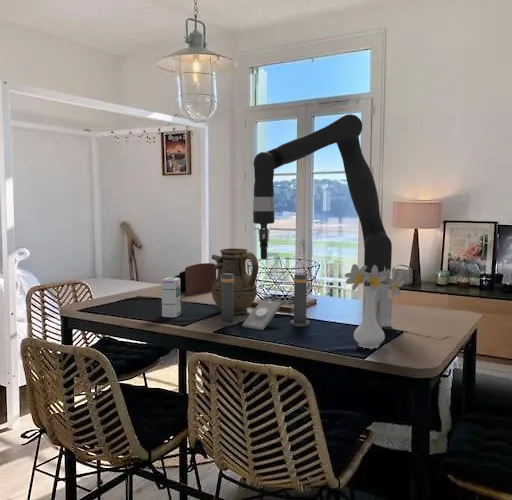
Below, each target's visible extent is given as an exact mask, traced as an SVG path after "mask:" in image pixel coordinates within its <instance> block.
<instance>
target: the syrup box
mask: <svg viewBox="0 0 512 500" xmlns="http://www.w3.org/2000/svg"><path fill="white" fill-rule="evenodd" d="M160 280H161V281H160V283H161V316H162V317H163V318H175V317H176V318H177V317H179V316H180V314H181V315H182V295H181V286H180V278H176V277H175V276H173V277H172V276H170V277H166V278H163V279H160Z"/></svg>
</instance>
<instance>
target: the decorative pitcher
mask: <svg viewBox="0 0 512 500" xmlns="http://www.w3.org/2000/svg"><path fill="white" fill-rule="evenodd" d="M219 251H220V254H221V255H218V254H212V255H211V259H212V260H213V261H215V262H216V264H215V266H214V268H215V269H216V270H217V275H216V280H215V282H214V283H213V286H212V291H211V295H212V300H214V304H216V305H217V307H218V308H219V309H221V274H225V273H231V274H234V315H243V314H246V313H247V312H248V308H249V307H251V305H253V303H254V301H255V300H256V297H257V292H258V291H257V289H258V288H257V285H256V280H257V278H258V273H259V261H258V258H257V257H256V255H255V254H254V253H253V252H251V251H248V249H247V248H234V247H233V248H231V247H230V248H222V249H220V250H219ZM247 260H249V261H250V262H251V266H252V267H251V268H252V269H251V274H248V272H247V269H246V268H247V267H246V261H247Z"/></svg>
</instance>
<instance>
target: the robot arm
mask: <svg viewBox="0 0 512 500" xmlns="http://www.w3.org/2000/svg"><path fill="white" fill-rule="evenodd" d="M362 130H363V122H362V120H361V118H359V117H358V115H355V114H351V113H349V114H347V113H346V114H344V115H343V114H342V116H340V117H339V118H337V119H336V120H334V121H333V122H331V123H330V124H328V125H326V126H324V127H322V128H319V129H318V130H315V131H313V132H311V133H308V134H305V135H303V136H300V137H297V138H294V139H292V140H290V141H287V142H285V143H282V144H281V145H278V146H277V147H275V148H273V149H270V150H267V151H262V152H261V151H260V152H258V154H256V155H255V157H254V159H253V169H254V170H253V171H254V173H253V174H254V182H253V183H254V184H253V200H252V201H253V204H252V215H253V217H252V223H253V224H256V225H258V224H259V225H260V228H258V230H257V231H258V242H259V248H260V259H261V260H267V258H268V248H269V247H268V246H269V239H270V238H269V235H270V228H268V224H269V225H270V224H271V225H272V224H274V223H275V197H274V196H275V193H274V191H275V190H274V188H275V186H274V177H275V176H274V174H275V170H276V169H278V168H280V167H283V166H284V165H287V164H291V163H294V162H296V161H298V160H302V159H303V158H306V157H308V156H310V155H311V154H313V153H315V152H317V151H320V150H321V149H323V148H326V147H328V146H331V145H334V144H336V145H337V148H338V151H339V153H340V156H341V159H342V163H343V169H344V174H345V179H346V182H347V186H348V187H347V188H348V191H349V194H350V198H351V202H352V204H353V207H354V210H355V212H356V214H357V217H358V218H359V223H360V225H361V232H362V237H363V247H364V253H363V255H364V257H363V258H364V259H363V266H365V265H367V269H366V270H365V272H368V273H371V270H372V268H373V266H374V265H376V266H377V268H378V273H380V272H382V271H384V267H385V269H386V272H387V270H388V269H389V270H390V273H391V271H392V258H393V257H392V255H393V254H392V252H393V251H392V250H393V249H392V248H393V245H392V244H393V243H392V240H391V239H390V237H389V236H388V234H387V232H386V229H385V226H384V224H383V221H382V218H381V211H380V202H379V195H378V191H377V186H376V185H377V184H376V183H375V179H374V176H373V173H372V171H371V168H370V166H369V165H368V163H367V160H366V159H365V157H364V155H363V152H362V148H361V143H360V137H359V136H360V135H361V134H362ZM364 279H365V278H364ZM388 279H389V278H388ZM365 281H366V283H367V284H368V281H367V280H366V279H365ZM363 285H364V283H362V286H363ZM362 289H363V290H362V319H363V318H364V312H365V291H364V288H363V287H362ZM390 291H391V286H390V285H388V284H387V287H386V290H381V289H380V288H377V291H376V296H375V316H376V321H377V323H378V325H379V327H380V328H381V329H383V327H384V328H387V327H388V328H389V327H391V326H392V311H393V310H392V305H393V304H392V302H393V301H392V300H393V299H390V298H391V296H390V293H391V292H390Z"/></svg>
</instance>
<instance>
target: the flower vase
mask: <svg viewBox="0 0 512 500" xmlns="http://www.w3.org/2000/svg"><path fill="white" fill-rule="evenodd" d="M366 269H367V265H365V266H364V265H363V266H362V267H361V268H359V266H358V265H357V264H355V263H353V264H352V266H351V269H350V272H347V273H345V274H344V277H345V278H347V279H346V280H345V284H346V285H352V286H351V289H352V292H353V291H356V289H357V288H358V286H359V285H360V284H362V289H363V288H364V291H365V312H364V318H363V317H362V321H361V323H360V325H359V326H357V328H355V330H354V332H353V338H354V340H355V341H356V342H357V343H358V346H359V347H360V348H361V347H363V348H362V349H365V348H369V349H368V350H375V349H374V348H376V349H379V348H378V347H380V344H382V343H383V341H384V340H385V338H386V336H385V332H384V330H383V328H380V327H379V325H378V323H377V321H376V316H375V296H376V291H377V288H380V289H381V290H386V287H387V284H388V285H390V291H391V292H390V293H391V296H390V298H391V300H393V299H394V298H395V296H397V297H400V296H401V290H400V288H401V287H402V286H404V284H405V283H406V280H401V279H402V274H400V275H399V276H398V277H397V279H393V278H391V272H390V270H389V269H388V270H387V272H386V269H385V267H384V271H382V272H380V273H378V268H377V266H376V265H374V266H373V268H372V270H371V273H368V272H365V270H366ZM364 278H365V279H366V280H367V281H368V284H367V283H366V281H365V279H364ZM388 278H389V279H388ZM363 283H364V285H363Z"/></svg>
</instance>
